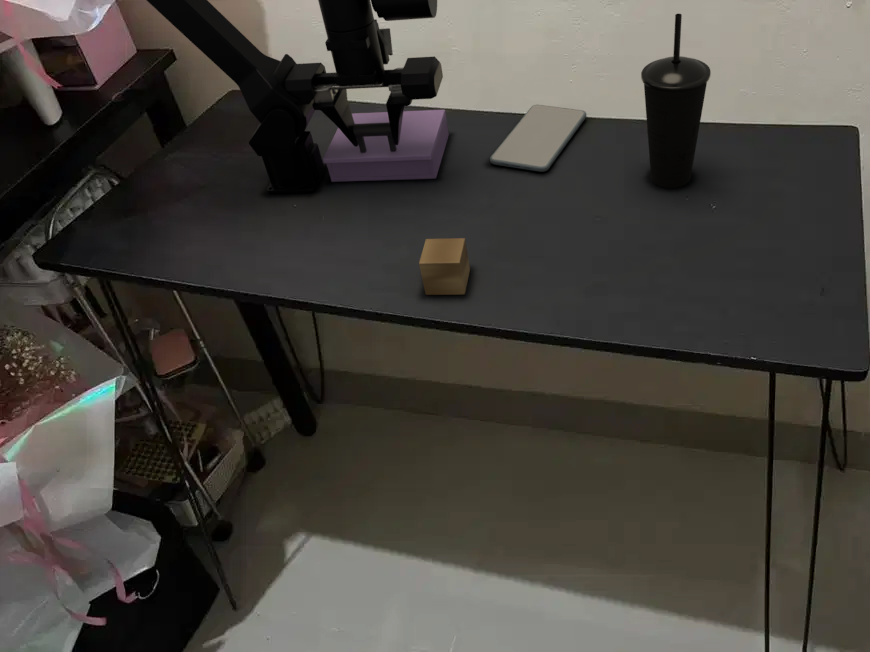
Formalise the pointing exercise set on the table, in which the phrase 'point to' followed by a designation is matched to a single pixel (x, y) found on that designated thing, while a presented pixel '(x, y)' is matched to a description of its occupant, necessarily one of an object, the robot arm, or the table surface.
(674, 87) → the drinking cup
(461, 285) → the block
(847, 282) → the table surface
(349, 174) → the purple box
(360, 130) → the purple hinged lid
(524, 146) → the smartphone
